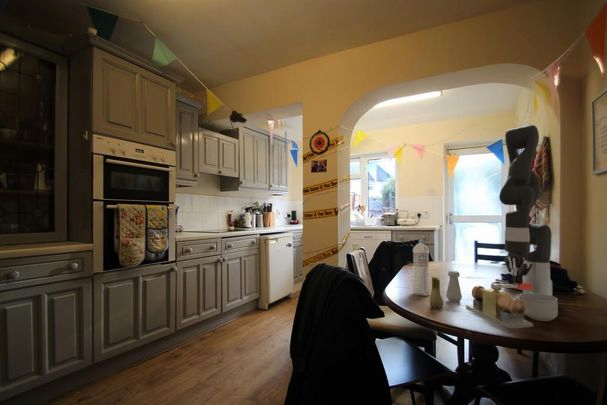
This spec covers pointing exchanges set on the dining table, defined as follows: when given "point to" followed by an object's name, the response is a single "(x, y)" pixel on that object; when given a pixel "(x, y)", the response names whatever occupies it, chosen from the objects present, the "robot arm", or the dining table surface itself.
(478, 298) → the pipe run
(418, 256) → the water bottle
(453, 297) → the salt shaker
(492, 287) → the valve lever
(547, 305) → the teacup
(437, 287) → the fennel bulb
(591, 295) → the dining table surface
